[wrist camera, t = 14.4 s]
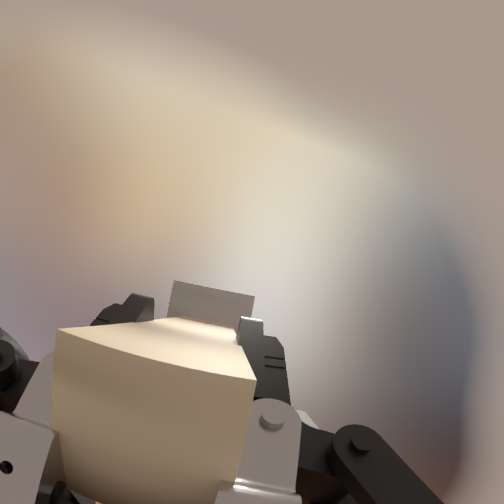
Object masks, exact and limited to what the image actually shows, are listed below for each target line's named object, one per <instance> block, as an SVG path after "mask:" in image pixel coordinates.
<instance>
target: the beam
mask: <svg viewBox="0 0 504 504" xmlns="http://www.w3.org/2000/svg"><path fill="white" fill-rule="evenodd" d="M254 298H255V297H254V296H249V295H244V294H239V293H233V292H229V291H223V290H218V289H213V288H208V287H203V286H198V285H194V284H189V283H184V282H179V281H174V283H173V288H172V293H171V298H170V303H169V308H168V313H167V318H164V319H156V320H153V321H146V322H138V323H134V322H130V323H120V324H110V325H100V326H89V327H76V328H64V329H57V333H56V342H55V351H54V362H53V377H52V430H55V431H58V432H59V437H60V445H61V452H62V459H63V465H64V471H65V476H66V481H67V486H68V488H67V489H69V490H72V491H74V492H76V493H78V494H80V495H83V496H85V497H88V498H90V499H92V500H95V501H97V502H100V503H103V504H214V503H215V500H216V497H217V494H218V491H219V488H220V485H221V482H222V480H224V481H228V482H233V483H235V482H236V478H237V473H238V469H239V464H240V460H241V455H242V451H243V446H244V441H245V436H246V432H247V427H248V422H249V417H250V412H251V407H252V403H253V398H254V392H255V387H256V382H257V379H256V377H255V375H254V373H253V371H252V368H251V366H250V364H249V362H248V360H247V358H246V355H245V353H244V351H243V349H242V346H239V345H238V342H237V340H236V335H237V330H238V326H239V321H240V317H241V316H242V317H248V318H251V314H252V309H253V303H254ZM65 488H66V487H65Z"/></svg>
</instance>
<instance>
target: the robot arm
mask: <svg viewBox="0 0 504 504" xmlns="http://www.w3.org/2000/svg"><path fill="white" fill-rule="evenodd" d="M153 320H154V299H153V298H151V297H147V296H143V295H139V294H135V293H132V294H131V295H130V296H129V297H128V298H127V300H126V301H125V302H124V303H123V304H122V305H120V304H116V303H115V304H113V305H111V306H109V307H107V308H105V309H103V310H102V312H101V313H100V314H99V315H98V317H96V319H95V320H94V321H93V322H92V323H91V324H90V326H100V325H110V324H120V323H130V322H134V323H138V322H146V321H153ZM236 340H237V342H238V345H239V346H242V349H243V351H244V353H245V355H246V358H247V360H248V362H249V364H250V366H251V368H252V371H253V373H254V375H255V377H256V379H257V382H256V387H255V392H254V398H253V403H252V407H251V412H250V417H249V422H248V427H247V432H246V436H245V441H244V446H243V451H242V455H241V460H240V464H239V469H238V473H237V478H236V482H235V483H233V482H228V481H224V480H222V482H221V485H220V488H219V491H218V494H217V497H216V500H215V503H214V504H444V503H443V502H442V501H441V500H440V499H439V498H438V497H437V496H436V495H435V494H434V493H433V492H432V491H431V490H430V489H429V488H428V487H427V486H426V485H425V483H424V482H423V481H421V479H420V478H419V477H418V476H417V475H416V474H415V473H414V472H413V471H412V470H411V469H410V468H409V467H408V465H407V464H406V463H405V462H404V461H403V460H402V459H401V458H400V457H399V456H398V455H397V454H396V453H395V452H394V451H393V449H392V448H391V447H390V446H389V445H388V444H387V443H386V442H385V441H384V440H383V439H382V437H381V436H380V435H379V434H378V433H376V432H375V431H374V430H372V429H370V428H368V427H366V426H362V425H347V426H344V427H342V428H340V429H339V430H338V431H337V432H336V434H334V433H330V432H327V431H323V430H320V429H316V428H314V427H311V426H309V425H307V424H305V423H304V422H302V421H301V418H300V416H299V414H298V413H297V411H296V410H295V409H294V408H293V407H291V403H290V395H289V387H288V379H287V371H286V363H285V355H284V348H283V346H282V345H281V343H280V342H279V341H278V339H277V338H276V337H271V336H265V335H263V321H262V320H259V319H253V318H248V317H242V316H241V317H240V321H239V326H238V330H237V335H236ZM53 362H54V352H51V353H49V354H47V355H46V356H45V357H44V358H43V359H42V360H41V362H35V361H30V360H29V358H28V356H27V355H26V353H25V352H24V351H23V349H22V348H21V347H20V345H19V344H18V343H17V342H16V341H15V340H14V339H13V338H12V337H11V336H10V335H8V333H7V332H5V331H4V330H2V329H1V328H0V504H95V500H92V499H90V498H88V497H85V496H83V495H80V494H78V493H76V492H74V491H72V490H69V489H67V488H68V486H67V481H66V476H65V471H64V465H63V459H62V452H61V445H60V437H59V432H58V431H55V430H52V377H53ZM65 487H66V488H65Z"/></svg>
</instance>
